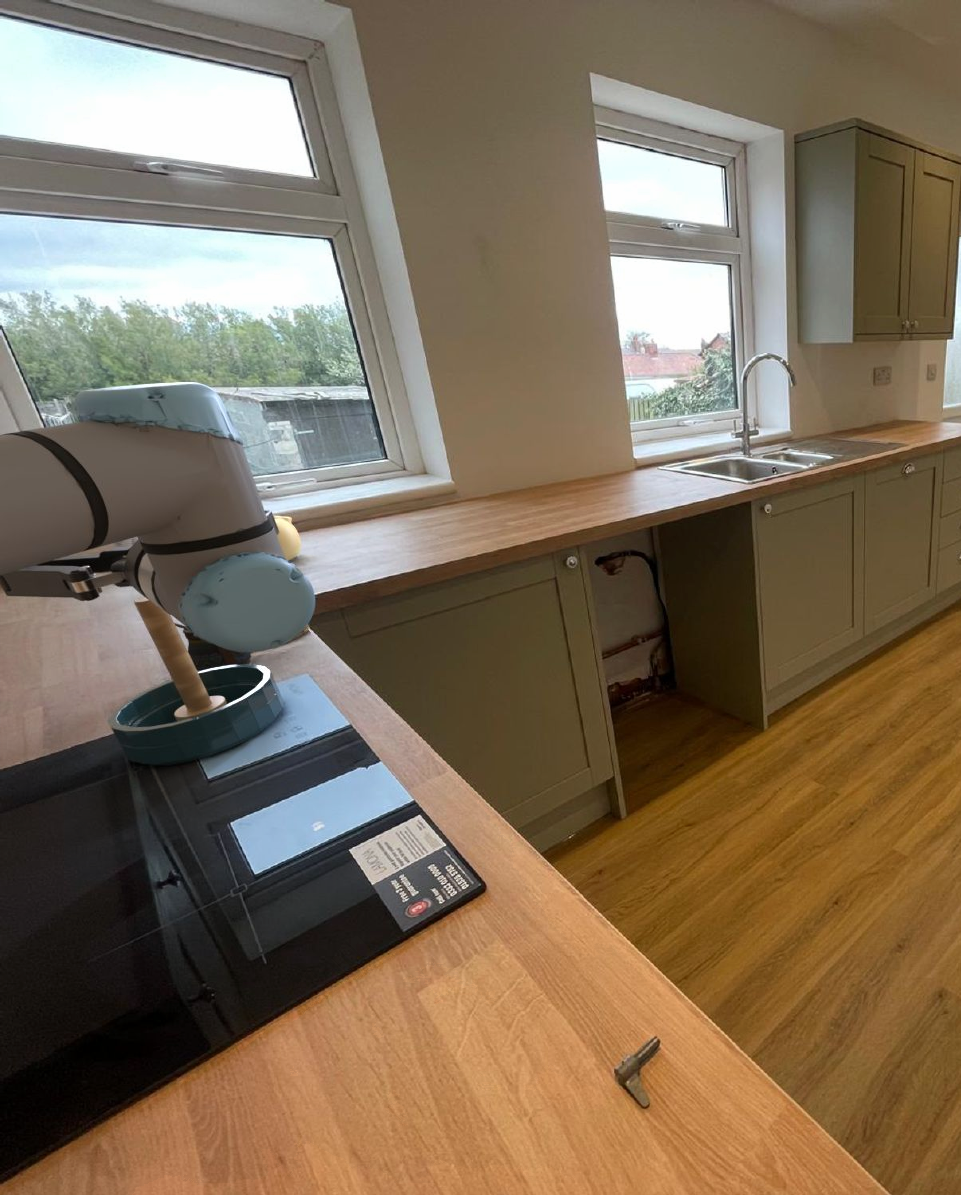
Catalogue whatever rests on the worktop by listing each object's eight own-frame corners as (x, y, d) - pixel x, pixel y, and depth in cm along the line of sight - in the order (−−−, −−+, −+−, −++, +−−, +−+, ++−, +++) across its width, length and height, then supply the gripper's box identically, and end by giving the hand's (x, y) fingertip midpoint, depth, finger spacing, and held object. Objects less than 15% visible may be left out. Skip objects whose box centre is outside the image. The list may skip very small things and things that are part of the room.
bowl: (115, 787, 74) (92, 747, 71) (143, 725, 85) (124, 689, 83) (283, 736, 82) (267, 699, 79) (286, 686, 93) (272, 652, 91)
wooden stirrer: (181, 742, 80) (113, 610, 73) (187, 724, 84) (123, 597, 77) (232, 727, 83) (171, 598, 75) (235, 710, 86) (178, 586, 79)
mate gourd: (266, 664, 100) (241, 606, 96) (206, 688, 94) (177, 626, 90) (245, 655, 103) (220, 598, 99) (186, 677, 98) (157, 617, 94)
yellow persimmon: (304, 549, 155) (288, 506, 151) (308, 561, 146) (291, 515, 142) (244, 561, 148) (225, 516, 144) (245, 575, 140) (225, 527, 135)
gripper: (341, 496, 63) (261, 476, 75) (-52, 579, 45) (-78, 535, 56) (364, 567, 66) (284, 537, 78) (5, 672, 48) (-30, 613, 59)
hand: (132, 536), depth 67 cm, fingers open, 13 cm apart
